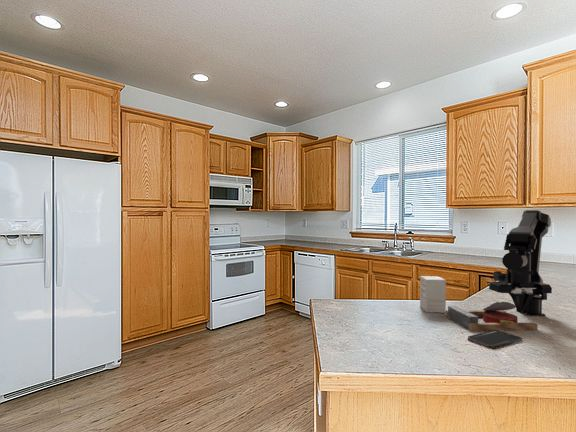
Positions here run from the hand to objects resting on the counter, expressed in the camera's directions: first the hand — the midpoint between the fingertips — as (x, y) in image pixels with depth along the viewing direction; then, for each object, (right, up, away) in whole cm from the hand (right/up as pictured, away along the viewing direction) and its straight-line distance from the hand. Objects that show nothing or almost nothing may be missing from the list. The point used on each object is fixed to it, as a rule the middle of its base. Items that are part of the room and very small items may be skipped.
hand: (519, 312), depth 109 cm
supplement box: (-24, -4, +14) cm, 28 cm away
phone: (-19, -4, -16) cm, 25 cm away
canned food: (-7, -4, 0) cm, 8 cm away
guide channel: (-11, -3, -1) cm, 12 cm away
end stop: (-21, -3, -1) cm, 21 cm away
